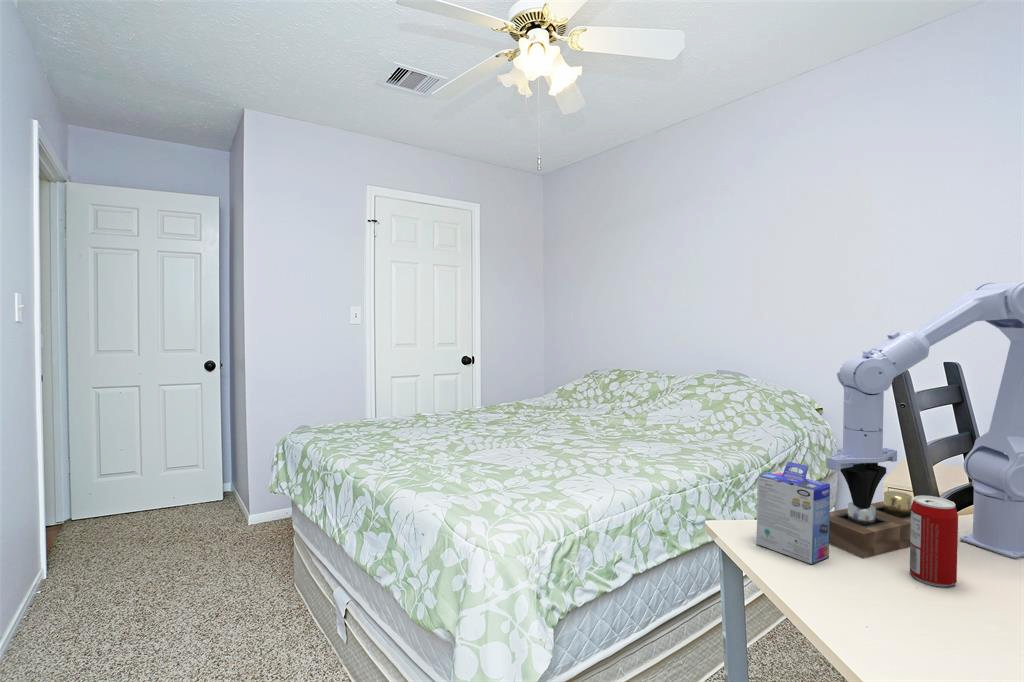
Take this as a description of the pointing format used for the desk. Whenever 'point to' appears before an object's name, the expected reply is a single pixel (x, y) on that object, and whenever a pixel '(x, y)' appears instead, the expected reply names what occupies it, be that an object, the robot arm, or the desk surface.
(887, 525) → the brown peg hole block
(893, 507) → the brass peg
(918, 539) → the soda can
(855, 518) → the steel peg
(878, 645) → the desk surface
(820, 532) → the ink cartridge box
